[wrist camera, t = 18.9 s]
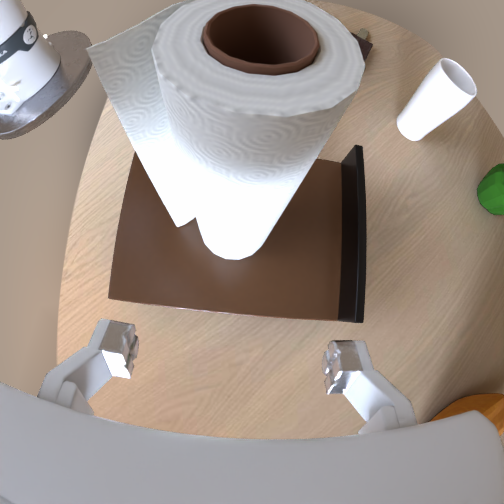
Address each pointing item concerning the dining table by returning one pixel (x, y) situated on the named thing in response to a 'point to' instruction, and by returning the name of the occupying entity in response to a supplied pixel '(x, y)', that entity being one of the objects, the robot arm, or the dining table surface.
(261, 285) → the rack
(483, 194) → the bell pepper
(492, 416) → the bread
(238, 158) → the paper towel roll
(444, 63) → the drinking glass
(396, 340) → the dining table surface
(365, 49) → the ice cream bar
